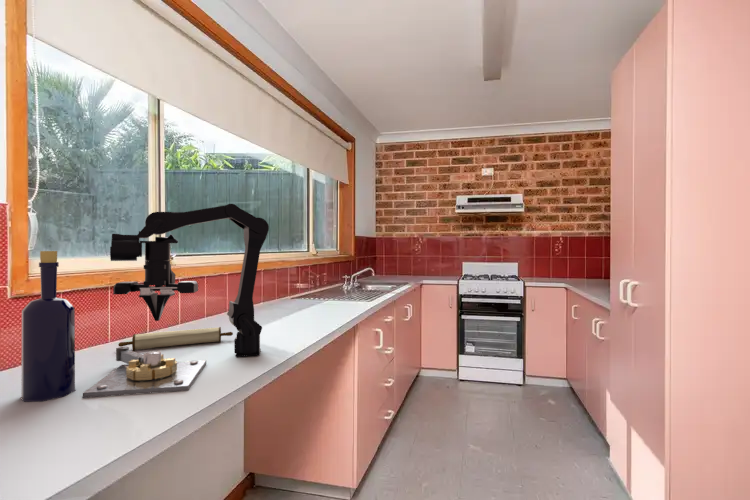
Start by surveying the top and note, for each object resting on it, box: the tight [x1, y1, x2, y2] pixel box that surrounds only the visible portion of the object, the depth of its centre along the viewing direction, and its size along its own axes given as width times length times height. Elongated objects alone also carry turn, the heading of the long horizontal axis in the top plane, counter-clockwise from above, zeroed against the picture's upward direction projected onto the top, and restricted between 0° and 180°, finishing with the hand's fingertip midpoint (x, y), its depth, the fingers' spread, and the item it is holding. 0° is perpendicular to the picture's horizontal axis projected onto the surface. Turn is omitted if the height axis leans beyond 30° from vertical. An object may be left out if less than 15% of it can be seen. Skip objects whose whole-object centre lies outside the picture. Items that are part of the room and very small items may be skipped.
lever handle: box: [115, 346, 178, 380], centre depth 97 cm, size 10×22×4 cm, turn 54°
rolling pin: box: [118, 326, 234, 352], centre depth 125 cm, size 32×6×5 cm, turn 117°
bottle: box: [20, 250, 77, 403], centre depth 83 cm, size 9×9×30 cm
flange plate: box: [82, 350, 207, 399], centre depth 93 cm, size 20×20×6 cm
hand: (157, 320), depth 103 cm, fingers closed
